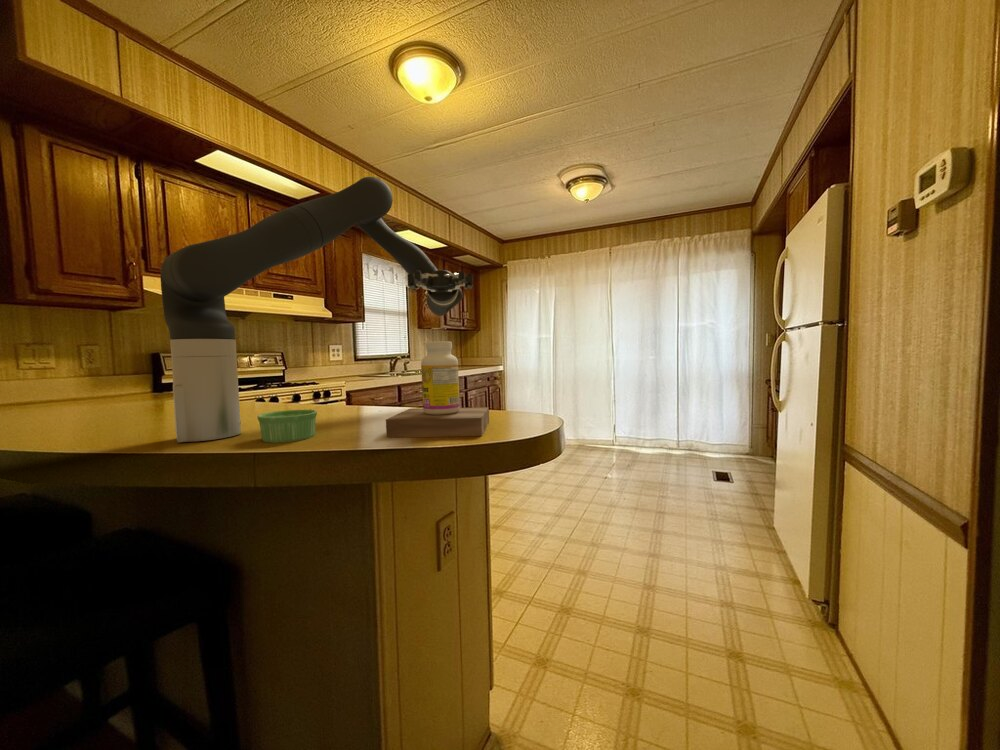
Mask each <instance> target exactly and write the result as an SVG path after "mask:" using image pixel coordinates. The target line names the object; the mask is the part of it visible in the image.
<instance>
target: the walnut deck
mask: <svg viewBox="0 0 1000 750" xmlns="http://www.w3.org/2000/svg"><path fill="white" fill-rule="evenodd" d="M489 408H490V407H489V406H488V407H487V406H486V407H484V406H483V407H460V409H459V411H458V412H456V413H452V414H443V415H429V414H426V413H424V411H423V408H407V409H405V410H403V411H401V412H399V413H397V414H395V415H393V416H390V417H389V418H386V419H385V429H386V431H385V432H386V438H427V437H428V438H431V437H433V438H435V437H436V438H440V437H441V438H442V437H445V438H446V437H449V436H450V437H451V438H452V437H482V436H483V435H484V433H485V432H486V429H487V428H488V426H489V424H490V409H489ZM487 425H488V426H487Z"/></svg>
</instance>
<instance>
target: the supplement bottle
mask: <svg viewBox="0 0 1000 750" xmlns="http://www.w3.org/2000/svg"><path fill="white" fill-rule="evenodd" d="M425 349H426V351H427V352H426V354H427V355H426V356H424V357H423V358H422V359H421V362H420V363H421V364H420V366H421V367H420V368H421V369H420V370H421V386H422V387H421V391H422V392H421V393H422V394H421V395H422V409H423V411H424V413H426V414H429V415H443V414H452V413H456V412H458V411H459V409H460V408H461V407H460V403H461V402H460V382H459V381H460V380H459V379H460V378H459V361H458V358H457V356H455V355H453V354H452V350H453V342H452V341H428V342H425Z"/></svg>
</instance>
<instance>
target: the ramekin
mask: <svg viewBox="0 0 1000 750" xmlns="http://www.w3.org/2000/svg"><path fill="white" fill-rule="evenodd" d="M317 413H318V412H317V410H315V409H287V410H286V409H285V410H277V411H276V410H275V411H270V412H264V413H260V414H257V420H258V422H259V429H260V435H261V440H262V441H263V442H265V443H269V444H270V443H271V444H280V443H281V442H282V443H291V442H298V441H302V440H307V439H310V438H313V437H314V436H315V435H316V434H315V433H316V421H317V420H316V419H317ZM279 442H280V443H279ZM282 443H281V444H282Z"/></svg>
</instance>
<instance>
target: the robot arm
mask: <svg viewBox="0 0 1000 750" xmlns="http://www.w3.org/2000/svg"><path fill="white" fill-rule="evenodd" d="M393 201H394V199H393V192H392V190H391V188H390V187H389V185H388V184H387V183H386V182H385V181H383V180H382V179H380V178H377V177H373V176H365V177H363V178H360V179H359V180H357V181H356V182H355V183H353V184H350V185H349V186H347V187H345V188H343V189H341V190H339V191H337V192H334V193H331V194H326V195H324V196H320V197H317V198H314V199H310V200H308V201H307V200H306V201H304V202H301V203H299V204H295V205H291V206H289V207H286V208H284V209H282V210H281V209H280V210H279V211H277V212H275V213H272V214H271V215H268V216H266V217H264V218H263V219H261V220H259V221H257V223H255V224H254V225H252V226H250V227H248V228H247V229H244V230H242V231H239V232H236V233H234V234H230V235H226V236H223V237H220V238H219V237H218V238H215V239H212V240H207V241H203V242H198V243H194V244H190V245H186V246H184V247H182V248H180V249H178V250H176V251H174V252H172V253H170V254H169V255H168V256H167V257H165V259H164V260H163V261H162V263H161V264H162V265H161V267H160V290H161V298H162V299H161V301H162V306H163V307H162V308H163V309H162V310H163V317H164V322H165V324H166V326H167V328H168V332H169V333H168V334H169V339H170V340H169V341H170V343H169V344H170V356H171V357H170V358H171V371H172V372H171V373H172V394H173V395H172V397H173V410H174V411H173V412H174V423H175V424H174V425H175V437H176V442H177V443H186V442H190V443H191V442H203V441H213V440H219V439H225V438H230V437H234V436H237V435H240V434H241V433H242V429H241V428H242V422H241V409H240V407H241V406H240V393H239V377H238V376H239V375H238V359H237V358H238V357H237V345H236V344H237V343H236V341H237V340H236V328H235V326H234V324H233V323H232V322H231V321H230V320H229V318H228V316H227V311H226V304H225V303H226V301H225V297H227V296H229V294H231V293H233V292H234V291H235V290H237V289H238V288H239V287H242V286H243V285H244V284H246V283H247V282H249V281H250V280H252V279H254V278H255V277H257V276H258V275H260V274H261V273H263V272H265V271H267V270H269V269H271V268H274V267H277V266H280V265H284V264H288V263H289V262H293V261H295V260H296V261H297V260H298V259H301V258H302V257H305V256H308V255H309V254H312V253H313V252H316V251H317V250H319V249H321V248H323V247H324V246H326V245H328V244H330V243H331V242H333V241H334V240H336V239H337V238H339V237H340V236H341V235H343V234H344V233H345V232H347V231H348V230H350V229H351V228H352V227H354V226H357V227H358V228H359V229H361V230H362V231H363V232H364V233H365V234H367V236H369V237H370V238H371V239H372V241H374V242H375V243H376V244H378V246H380V247H381V248H382V249H383V250H384V251H385V252H387V254H389V255H390V256H391V257H392V258H393V259H394V260H395V261H396V262H397V263H398V264H399V266H401V267H402V269H404V271H405V272H406V273H407V275H406V276H407V277H406V278H407V286H408V287H409V289H411V290H412V291H418V289H419V288H420V289H423V290H425V291H426V292H427V296H426V299H425V300H426V305H427V308H428V309H429V310H430V311H431V312H432V313H433V314H434V315H435V316H439V317H442V316H445V315H447V313H449V312H450V311H451V310H452V309H454V307H456V306H457V305H458V304H459V303H460V302H461V301H462V300H463V297H464V296H463V295H464V294H463V290H462V289H461V287H464V289H465V290H467V291H470V290H473V289H472V288H473V287H474V273H473V274H472V273H468V274H467V275H466V272H463V270H460V269H459V270H458V271H457V272H458V273H457V272H453V273H452V272H451V271H449V270H447V269H446V270H445V269H438V268H437V267H436V266H435V264H434V263H433V262H432V261H431V259H430V258H429V257H428V256H427V254H425V252H424V251H423V250H422V248H419V247H418V246H417V245H415V244H414V243H412V242H411V241H409V240H407V239H405V237H402V236H401V235H399V233H397V232H395V231H394V230H392V229H391V228H390V227H389V226H388V225H387V223H386V222H385V221H384V220H383V218H384V217H385V216H387V214H388V213H389V212H390V211H391V208H392V205H393Z"/></svg>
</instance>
